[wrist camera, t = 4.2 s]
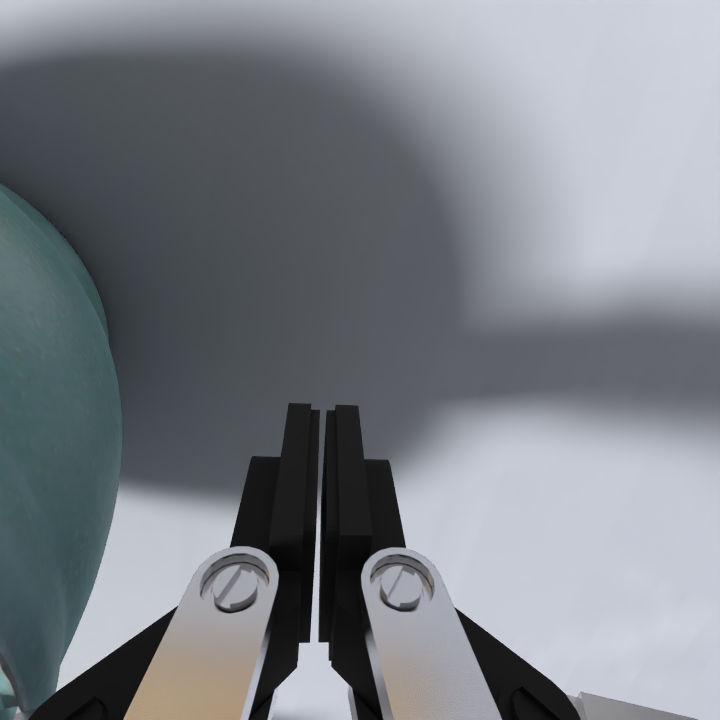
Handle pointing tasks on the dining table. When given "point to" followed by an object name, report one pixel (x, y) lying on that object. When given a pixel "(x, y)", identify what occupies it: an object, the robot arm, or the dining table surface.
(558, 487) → the dining table surface
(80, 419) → the flower pot
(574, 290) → the dining table surface
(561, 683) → the dining table surface
